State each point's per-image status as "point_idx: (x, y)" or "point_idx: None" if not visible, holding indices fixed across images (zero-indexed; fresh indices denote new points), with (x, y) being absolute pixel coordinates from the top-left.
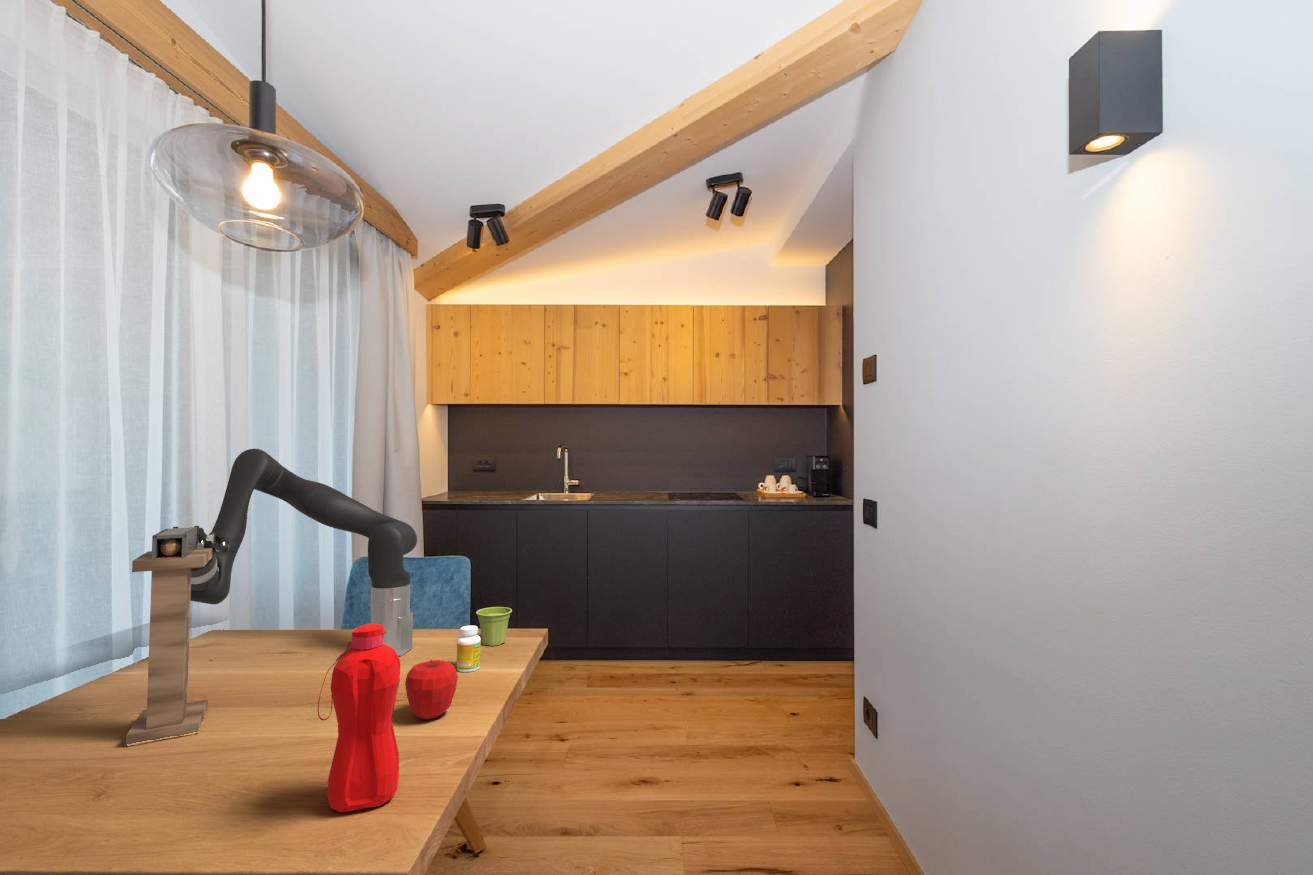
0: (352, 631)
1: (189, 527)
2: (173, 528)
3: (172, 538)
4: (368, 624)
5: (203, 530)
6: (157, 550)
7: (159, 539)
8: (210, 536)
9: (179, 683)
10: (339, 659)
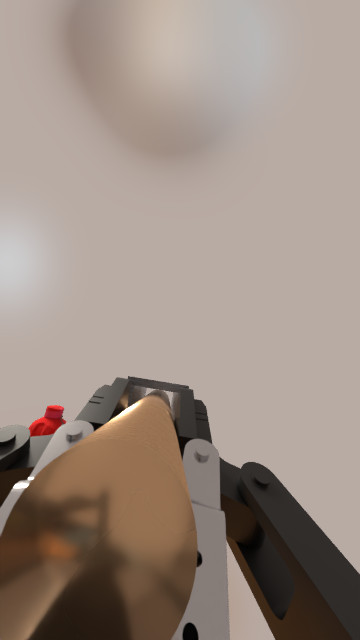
0: (62, 409)
1: (147, 429)
2: (174, 384)
3: (159, 390)
4: (54, 406)
5: (92, 398)
6: (171, 407)
7: (174, 392)
8: (31, 445)
9: None
10: (65, 423)
